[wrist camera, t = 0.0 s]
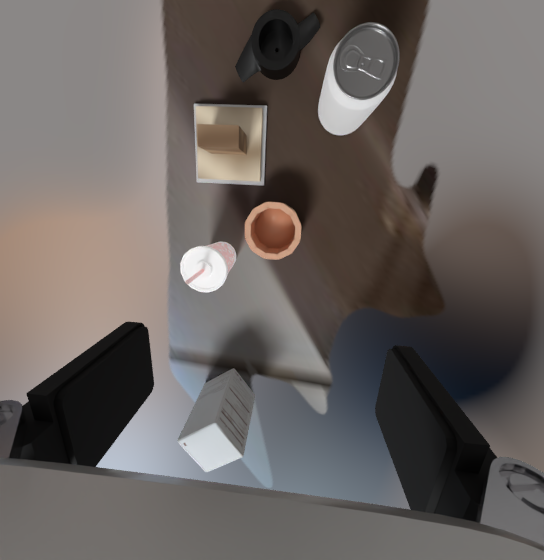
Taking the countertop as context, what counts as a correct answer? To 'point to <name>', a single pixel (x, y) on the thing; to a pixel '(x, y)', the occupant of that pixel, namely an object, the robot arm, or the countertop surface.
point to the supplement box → (219, 422)
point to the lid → (229, 143)
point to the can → (358, 77)
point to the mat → (261, 153)
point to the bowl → (273, 230)
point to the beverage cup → (207, 266)
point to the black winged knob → (276, 45)
